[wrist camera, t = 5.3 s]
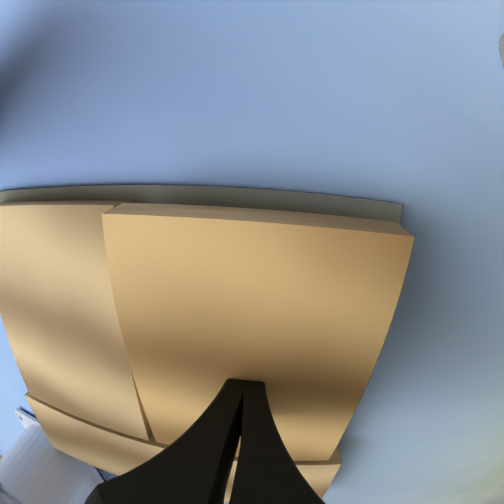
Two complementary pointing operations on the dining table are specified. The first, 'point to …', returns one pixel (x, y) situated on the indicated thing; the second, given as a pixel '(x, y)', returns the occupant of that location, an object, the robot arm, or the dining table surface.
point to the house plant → (502, 48)
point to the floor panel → (107, 312)
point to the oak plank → (254, 311)
